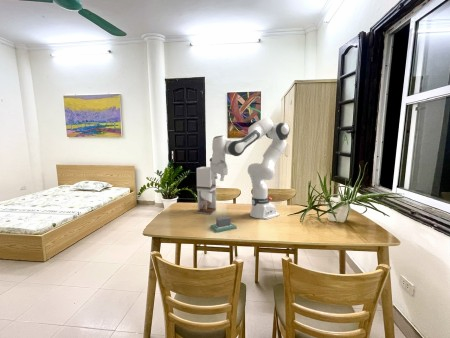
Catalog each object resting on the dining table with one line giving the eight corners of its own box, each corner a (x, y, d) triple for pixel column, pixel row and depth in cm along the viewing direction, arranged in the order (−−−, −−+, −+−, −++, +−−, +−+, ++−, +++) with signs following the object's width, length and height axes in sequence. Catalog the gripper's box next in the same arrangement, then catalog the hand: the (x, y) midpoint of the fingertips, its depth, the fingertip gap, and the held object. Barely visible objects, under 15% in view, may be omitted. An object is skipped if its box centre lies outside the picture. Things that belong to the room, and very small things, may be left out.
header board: (229, 223, 154) (229, 221, 154) (236, 228, 145) (236, 226, 145) (210, 227, 148) (210, 224, 147) (216, 232, 139) (216, 230, 139)
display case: (197, 213, 176) (196, 168, 171) (203, 209, 185) (202, 166, 181) (210, 214, 172) (210, 169, 167) (216, 210, 181) (215, 167, 177)
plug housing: (227, 223, 150) (227, 216, 149) (230, 225, 146) (230, 218, 145) (216, 225, 146) (216, 217, 145) (218, 227, 142) (218, 220, 142)
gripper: (230, 160, 146) (230, 182, 148) (216, 158, 164) (216, 177, 166) (221, 161, 143) (221, 182, 145) (208, 158, 161) (208, 178, 163)
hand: (218, 179), depth 155 cm, fingers open, 8 cm apart
